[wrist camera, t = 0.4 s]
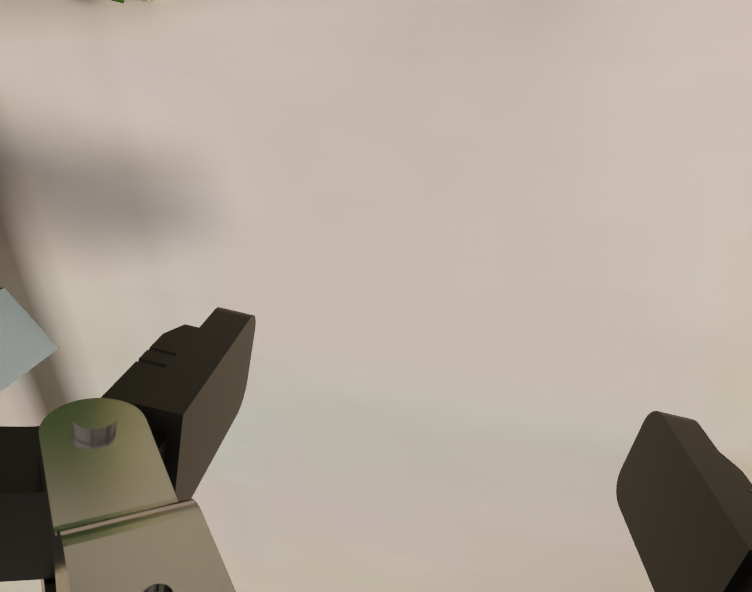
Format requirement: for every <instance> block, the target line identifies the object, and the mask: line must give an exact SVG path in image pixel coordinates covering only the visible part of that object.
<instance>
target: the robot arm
mask: <svg viewBox="0 0 752 592" xmlns="http://www.w3.org/2000/svg"><path fill="white" fill-rule="evenodd" d="M254 332H255V316H254V315H249V314H245V313H241V312H237V311H232V310H228V309H224V308H220V307H218V308H216V309H215V310H214V311H213V313H212V314H211V315H210V316H209V317H208V318H207V319H206V321H205V322H204V323H203V324H202V325H201V326H200V328H198V327H193V326H189V325H183V326H180V327H178V328H176V329H173V330H171V331H168V332H166V333H164V334H162V335H161V337H160V338H159V339H158V340H157V341H156V342H155V343H154V344H153V345H152V346H151V347H150V349H149V350H147V351H146V352H145V353H144V354H143V355H142V356H141V357H140V358H139V361H138V362H135V363H134V364H133V365H132V366H131V367H130V368H129V369H128V370H127V371H126V372H125V373H124V375H123V376H122V377H121V378H120V379H119V380H118V381H117V382H116V383H115V384H114V385H113V386H112V387H111V388H110V389H109V390H108V391H107V392H106V393H105V394H104V395H103V396H102V397H101V398H91V399H83V400H78V401H74V402H71V403H68V404H66V405H63V406H61V407H59V408H57V409H55V410H54V411H52V412H51V413H50V414H48V415H47V416H46V417H45V418H44V420H43V421H42V423H41V425H40V426H36V427H0V582H2V581H19V580H36V579H41V586H42V592H236V591H235V589H234V586H233V584H232V582H231V579H230V577H229V575H228V572H227V570H226V568H225V565H224V563H223V560H222V558H221V556H220V553H219V551H218V549H217V546H216V544H215V542H214V539H213V537H212V535H211V532H210V530H209V527H208V525H207V523H206V520H205V518H204V516H203V513H202V511H201V509H200V507H199V505H198V504H197V502H196V501H195V500H193V499H191V498H192V496H193V494H194V492H195V490H196V488H197V487H198V485H199V483H200V481H201V479H202V477H203V476H204V474H205V472H206V470H207V468H208V466H209V465H210V463H211V461H212V459H213V457H214V456H215V454H216V452H217V450H218V448H219V446H220V445H221V443H222V441H223V439H224V437H225V435H226V434H227V432H228V430H229V428H230V426H231V424H232V423H233V421H234V419H235V417H236V415H237V413H238V411H239V409H240V406H241V403H242V400H243V397H244V393H245V389H246V385H247V378H248V372H249V365H250V358H251V352H252V345H253V338H254ZM616 493H617V501H618V505H619V507H620V510H621V512H622V514H623V517H624V519H625V522H626V524H627V526H628V529H629V531H630V534H631V536H632V538H633V541H634V543H635V546H636V548H637V550H638V553H639V555H640V558H641V560H642V562H643V565H644V567H645V570H646V572H647V574H648V577H649V579H650V582H651V584H652V586H653V589H654V591H655V592H752V484H751V482H750V481H749V480H748V478H747V477H746V476H745V474H744V473H743V472H742V471H741V470H740V469H739V468H738V467H737V466H736V465H734V464H733V463H732V462H731V461H730V460H728V459H727V458H726V457H725V456H724V455H723V454H721V453H720V452H719V451H718V450H717V448H716V447H715V446H714V444H713V443H712V441H711V440H710V439H709V437H708V436H707V435H706V433H705V432H704V430H703V429H702V428H701V426H700V425H699V424H698V423H697V422H696V421H695V420H692V419H688V418H684V417H680V416H676V415H671V414H667V413H663V412H659V411H654V412H651V413H650V414H649V415H648V416H647V417H646V419H645V420H644V422H643V424H642V427H641V429H640V431H639V433H638V435H637V437H636V439H635V441H634V443H633V445H632V448H631V450H630V452H629V454H628V456H627V458H626V460H625V462H624V464H623V467H622V469H621V471H620V473H619V476H618V481H617V489H616Z"/></svg>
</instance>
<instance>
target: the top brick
mask: <svg viewBox="0 0 752 592" xmlns="http://www.w3.org/2000/svg"><path fill="white" fill-rule="evenodd" d="M57 349H58V347H57V345H56V344H55V343H54V342H53V341H52V340H51V339H50V338H49V337H48V335H47V334H46V333H45V332H44V331H43V330H42V329H41V328H40V327H39V326H38V324H37V323H36V322H35V321H34V320H33V319H32V318H31V317H30V316H29V315H28V313H27V312H26V311H25V310H24V309H23V308H22V307H21V306H20V305H19V303H18V302H17V301H16V300H15V299H14V298H13V297H12V296H11V295H10V294H9V292H8V291H7V290H6V289H5V288H3V289H1V290H0V392H1V391H2V390H3V389H5V388H6V387H7V386H9V385H10V384H11V383H13V382H14V381H15V380H17V379H18V378H19V377H21V376H22V375H23V374H25V373H26V372H27V371H29V370H30V369H32V368H33V367H34V366H36V365H37V364H38V363H40V362H41V361H42V360H44V359H45V358H46V357H48V356H49V355H50V354H52V353H53V352H54V351H56V350H57Z"/></svg>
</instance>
